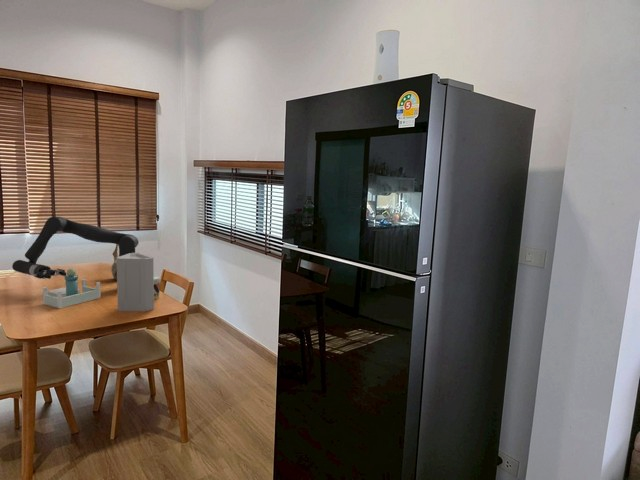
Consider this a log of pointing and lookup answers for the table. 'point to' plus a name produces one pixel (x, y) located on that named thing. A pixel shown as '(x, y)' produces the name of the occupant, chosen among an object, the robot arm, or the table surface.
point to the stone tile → (54, 292)
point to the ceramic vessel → (115, 263)
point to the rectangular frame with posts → (72, 296)
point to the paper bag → (135, 282)
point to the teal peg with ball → (71, 282)
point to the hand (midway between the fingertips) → (58, 275)
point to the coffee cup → (156, 287)
